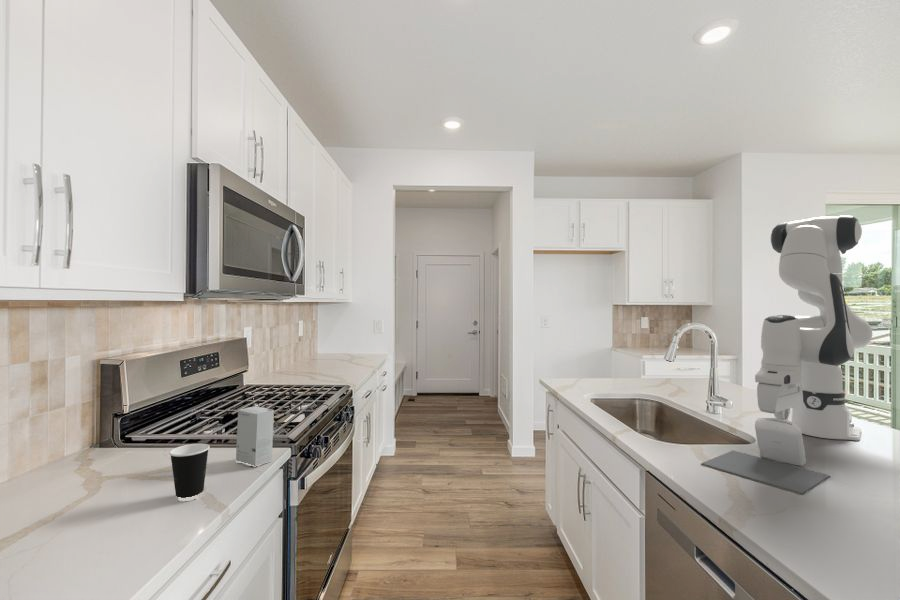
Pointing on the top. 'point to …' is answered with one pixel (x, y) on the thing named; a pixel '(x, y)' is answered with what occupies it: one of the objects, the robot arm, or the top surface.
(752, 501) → the top surface
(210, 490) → the top surface
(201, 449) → the dixie cup
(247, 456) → the skincare box
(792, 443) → the photo printer
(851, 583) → the top surface
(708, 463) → the mat
